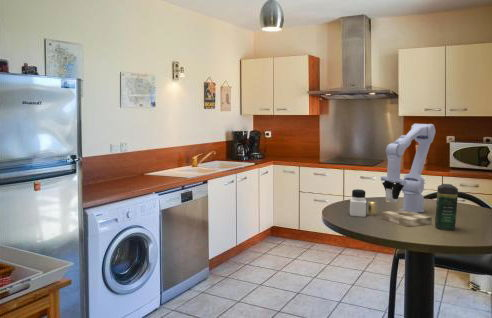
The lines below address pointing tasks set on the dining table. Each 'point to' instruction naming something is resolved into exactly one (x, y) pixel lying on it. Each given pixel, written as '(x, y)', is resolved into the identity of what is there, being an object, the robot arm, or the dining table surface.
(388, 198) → the steel square peg
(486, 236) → the dining table surface
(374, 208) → the brass round peg
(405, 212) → the bore block
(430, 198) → the dining table surface
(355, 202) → the medicine bottle
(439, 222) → the coffee jar
